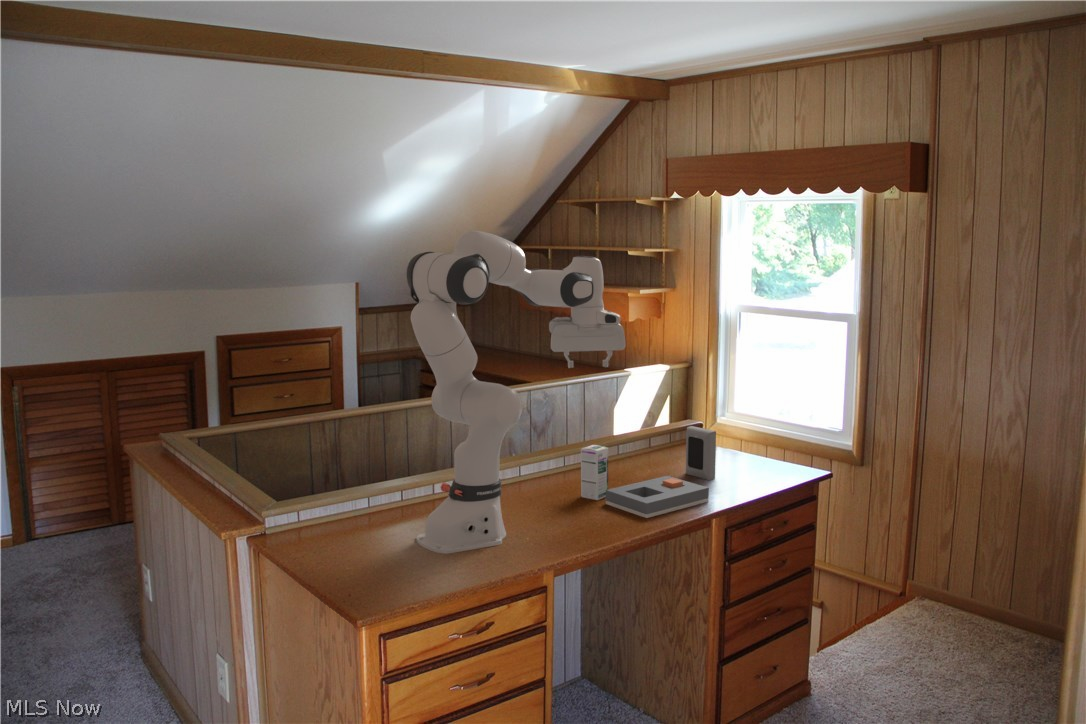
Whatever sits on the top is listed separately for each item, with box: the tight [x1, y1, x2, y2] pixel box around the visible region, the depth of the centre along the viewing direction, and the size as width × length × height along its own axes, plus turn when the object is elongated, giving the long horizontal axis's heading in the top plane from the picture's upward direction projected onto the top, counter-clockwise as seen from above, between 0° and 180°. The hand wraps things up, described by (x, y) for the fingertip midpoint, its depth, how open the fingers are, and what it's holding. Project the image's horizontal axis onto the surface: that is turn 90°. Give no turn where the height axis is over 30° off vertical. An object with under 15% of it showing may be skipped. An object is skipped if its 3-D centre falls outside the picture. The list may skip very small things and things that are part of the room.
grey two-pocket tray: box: [605, 475, 710, 519], centre depth 253 cm, size 24×16×4 cm, turn 128°
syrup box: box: [580, 444, 609, 501], centre depth 258 cm, size 6×6×14 cm
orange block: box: [663, 477, 683, 488], centre depth 257 cm, size 4×4×2 cm
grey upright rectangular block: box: [685, 425, 717, 481], centre depth 279 cm, size 10×4×15 cm, turn 40°
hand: (588, 367), depth 247 cm, fingers open, 8 cm apart
